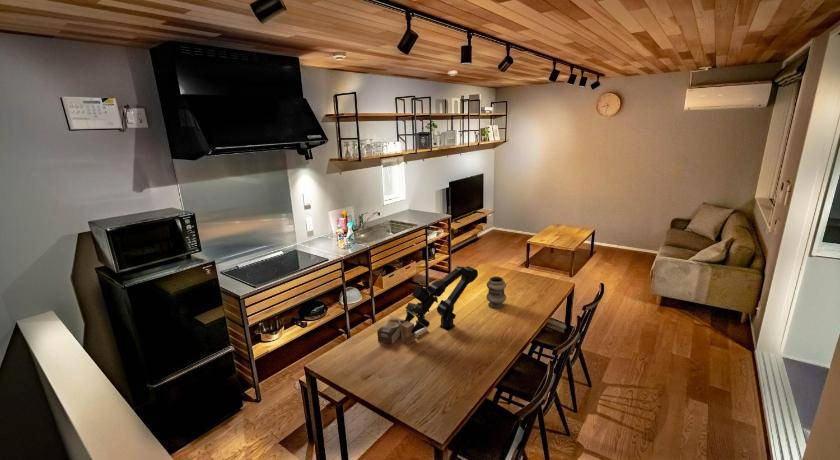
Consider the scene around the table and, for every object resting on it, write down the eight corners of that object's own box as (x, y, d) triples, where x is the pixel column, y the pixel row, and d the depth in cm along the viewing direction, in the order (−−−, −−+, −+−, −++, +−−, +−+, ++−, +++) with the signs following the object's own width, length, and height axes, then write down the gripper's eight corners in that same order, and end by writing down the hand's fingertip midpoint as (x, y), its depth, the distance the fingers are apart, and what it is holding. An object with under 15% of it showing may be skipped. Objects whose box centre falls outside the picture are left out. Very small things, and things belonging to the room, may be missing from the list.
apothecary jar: (484, 308, 237) (484, 281, 231) (488, 299, 247) (488, 273, 242) (504, 311, 232) (504, 284, 227) (507, 302, 243) (508, 276, 238)
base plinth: (427, 330, 215) (427, 326, 215) (416, 337, 209) (416, 333, 208) (415, 325, 221) (415, 321, 221) (404, 332, 215) (404, 328, 214)
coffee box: (405, 319, 216) (391, 334, 202) (406, 329, 218) (392, 344, 204) (391, 316, 219) (376, 330, 205) (391, 326, 221) (377, 341, 207)
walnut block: (414, 340, 207) (414, 323, 204) (408, 344, 203) (407, 327, 200) (408, 337, 210) (407, 320, 207) (401, 341, 206) (400, 324, 203)
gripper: (407, 291, 210) (390, 314, 209) (423, 305, 194) (404, 330, 192) (421, 300, 216) (404, 323, 214) (437, 315, 199) (419, 339, 198)
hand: (407, 328), depth 204 cm, fingers open, 9 cm apart
